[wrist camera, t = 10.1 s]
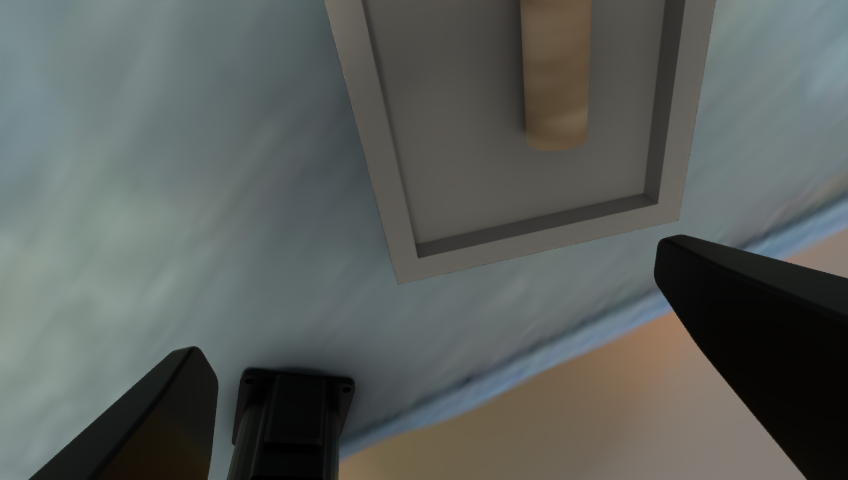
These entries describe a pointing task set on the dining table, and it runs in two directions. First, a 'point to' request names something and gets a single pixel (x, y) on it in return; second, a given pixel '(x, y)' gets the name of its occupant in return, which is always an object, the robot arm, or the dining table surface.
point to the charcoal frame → (515, 126)
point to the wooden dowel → (556, 72)
